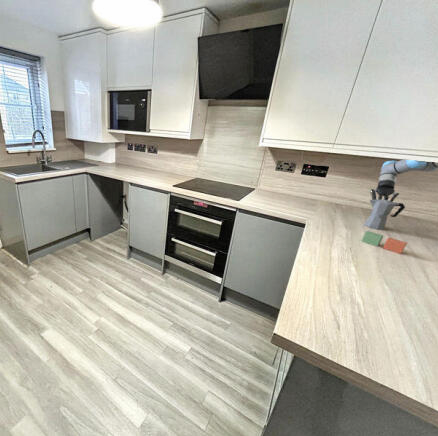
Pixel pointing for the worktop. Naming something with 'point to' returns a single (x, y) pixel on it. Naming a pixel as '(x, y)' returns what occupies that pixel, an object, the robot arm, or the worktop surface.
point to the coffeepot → (381, 213)
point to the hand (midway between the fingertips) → (379, 214)
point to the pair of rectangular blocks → (389, 245)
